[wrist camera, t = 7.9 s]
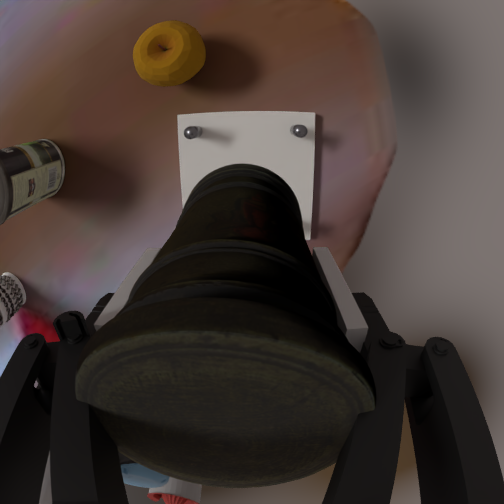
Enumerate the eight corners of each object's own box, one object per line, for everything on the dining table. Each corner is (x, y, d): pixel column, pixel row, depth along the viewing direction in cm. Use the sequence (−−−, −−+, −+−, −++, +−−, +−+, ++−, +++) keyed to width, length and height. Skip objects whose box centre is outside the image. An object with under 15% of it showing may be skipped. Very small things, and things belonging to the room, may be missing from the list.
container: (216, 287, 25) (181, 497, 9) (164, 194, 22) (9, 362, 6) (316, 247, 24) (399, 456, 8) (272, 143, 20) (354, 231, 4)
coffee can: (18, 149, 37) (-38, 167, 24) (58, 130, 36) (-1, 142, 24) (31, 203, 41) (-21, 233, 28) (71, 190, 41) (17, 220, 28)
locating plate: (308, 236, 44) (315, 251, 39) (187, 237, 44) (179, 252, 39) (313, 113, 36) (321, 111, 32) (179, 115, 36) (169, 114, 32)
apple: (225, 59, 33) (217, 42, 25) (177, 103, 36) (157, 99, 28) (181, 21, 31) (163, -1, 22) (136, 65, 33) (108, 55, 25)
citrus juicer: (147, 456, 76) (136, 505, 58) (168, 442, 70) (157, 499, 52) (188, 471, 80) (182, 519, 62) (214, 459, 74) (209, 514, 56)
